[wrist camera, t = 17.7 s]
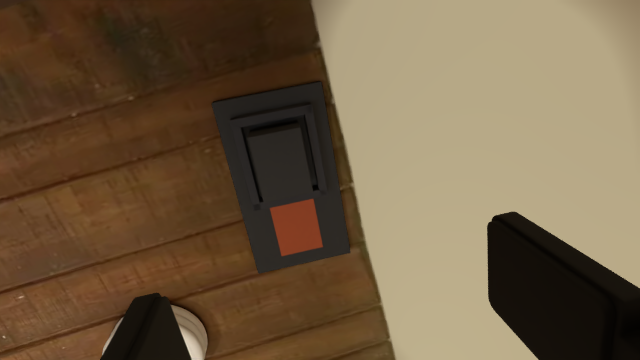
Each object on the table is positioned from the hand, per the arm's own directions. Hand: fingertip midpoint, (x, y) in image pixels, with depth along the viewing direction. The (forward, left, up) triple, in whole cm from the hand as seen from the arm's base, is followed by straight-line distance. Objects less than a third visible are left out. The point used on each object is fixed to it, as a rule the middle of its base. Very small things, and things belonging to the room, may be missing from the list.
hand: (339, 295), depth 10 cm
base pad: (+5, -1, -26) cm, 26 cm away
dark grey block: (+2, -1, -25) cm, 25 cm away
